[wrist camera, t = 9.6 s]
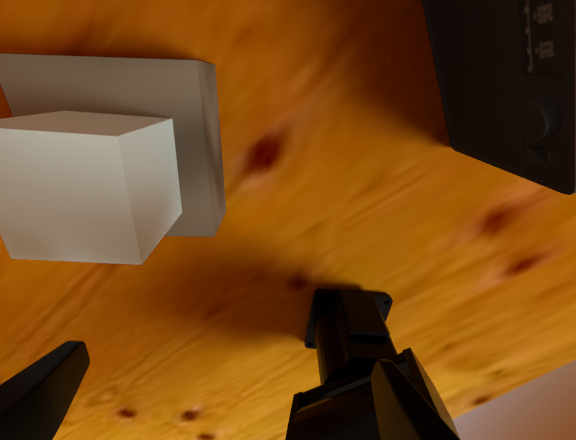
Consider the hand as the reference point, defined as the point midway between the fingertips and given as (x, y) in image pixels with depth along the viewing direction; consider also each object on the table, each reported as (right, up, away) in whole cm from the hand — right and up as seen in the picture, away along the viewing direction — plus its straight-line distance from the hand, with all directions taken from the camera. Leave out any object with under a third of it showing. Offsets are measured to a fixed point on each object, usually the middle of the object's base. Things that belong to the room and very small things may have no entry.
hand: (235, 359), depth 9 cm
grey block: (-7, +9, +9) cm, 15 cm away
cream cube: (-7, +7, +6) cm, 11 cm away
